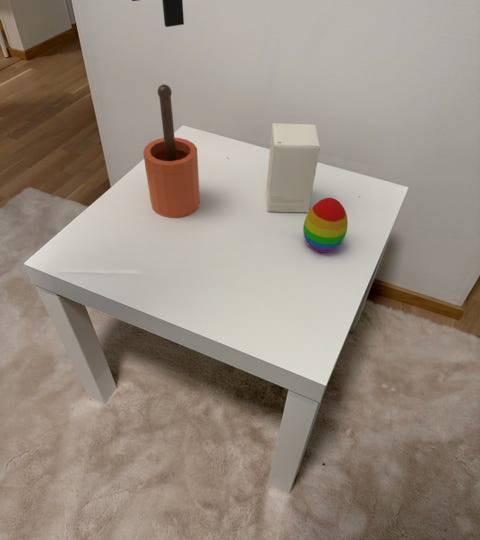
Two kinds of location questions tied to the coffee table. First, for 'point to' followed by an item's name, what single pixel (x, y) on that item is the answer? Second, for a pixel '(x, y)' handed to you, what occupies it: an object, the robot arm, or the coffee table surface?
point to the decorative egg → (325, 225)
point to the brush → (167, 122)
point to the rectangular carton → (292, 167)
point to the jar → (172, 178)
